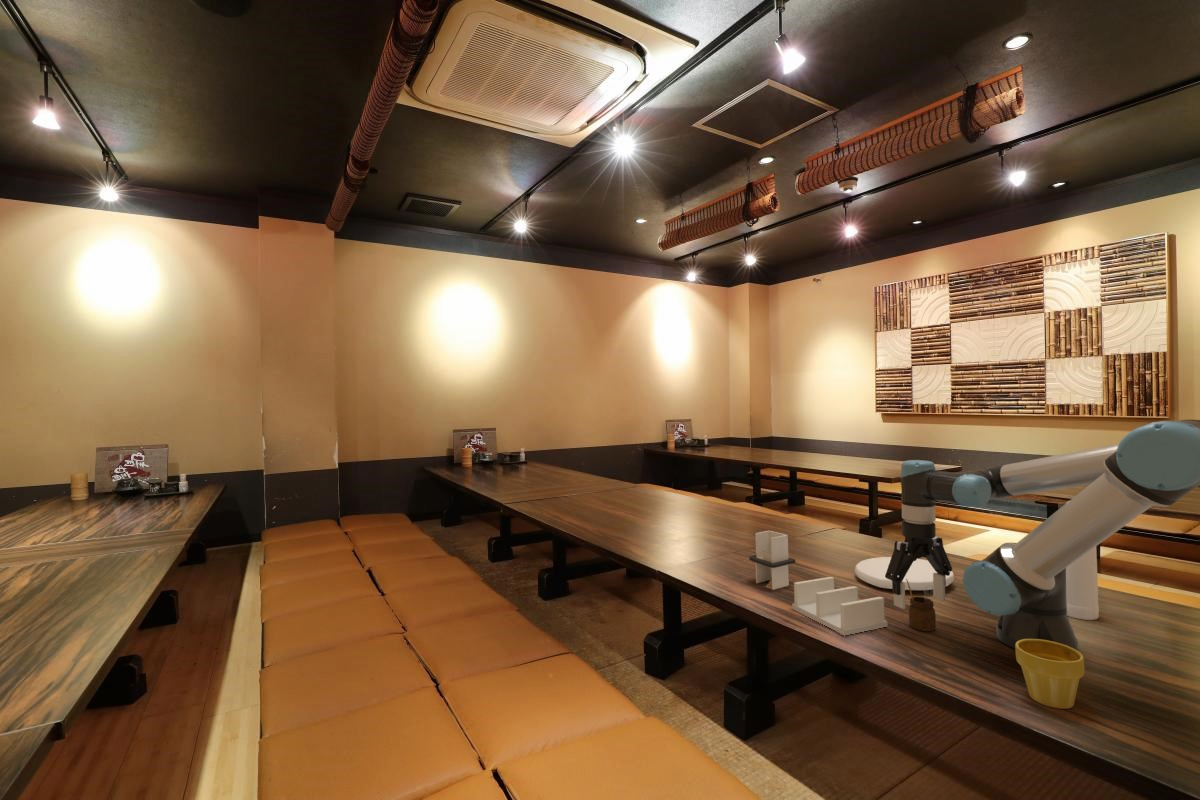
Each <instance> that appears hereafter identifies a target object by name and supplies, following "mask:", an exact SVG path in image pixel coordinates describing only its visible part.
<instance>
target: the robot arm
mask: <svg viewBox="0 0 1200 800" xmlns="http://www.w3.org/2000/svg"><path fill="white" fill-rule="evenodd" d="M900 470H901V471H900V477H899V479H900V485H901V487H900V488H901V518H902V519H903V520H902V521H901V534H902V535H903V536H904V540H903V542H902V541H898V540H896V541H894V546H893V552H892V555H891V556H890V557H891V560H890V563H889V566H888V569H887V572H886V575H885V578H887V579H889V580H892V589H891V590H892V594H893V606H895V607H898V608H900V609H903V610H905V609H906V590H905V583H904V582H902V581H903V579H904V577H905V575H906V574H907V572H908V570H909V568H910V566H911V565H912V563H913V561H916V559H922V558H926V559H925V560H928V561H929V563H930V564H931V566H932V567H933V568H934V570H935V571H936V572H937V573H933V588H934V589H932V590H933V592H932V598H933V599H936V600H939V601H940V602H941V601H942V602H945V601H946V586H945V585H946V581H945V580H946V575H947V576H949V575H950V572H951V571H952V572H953V567H952V564H951V561H950V559H949V557H948V554H947V553H946V550H945V548H944V542H943V538H942V537H939V536H936V534H937V533H936V523H935V521H936V520H937V519H936V517H937V516H936V502H943V503H946V504H947V503H949V504H953V505H959V506H963V507H967V508H968V507H974V508H983V507H985V506H986V504H988V503H989V501H990V500H993V499H1001V498H1007V497H1013V496H1020V495H1027V494H1033V493H1034V494H1035V493H1043V492H1048V491H1049V492H1051V491H1057V490H1064V489H1065V490H1066V489H1070V488H1071V489H1072V488H1079V487H1084V488H1083V490H1081V491H1079V493H1077V494H1076V495H1075V496H1073V497H1072V498H1071V499H1070V500H1068V501H1069V502H1067V501H1066V502H1067V503H1066V502H1065V504H1063V506H1061V507H1060V508H1059V509H1057V510H1056V511H1054V512H1053V513H1052V514H1051V515H1050V516H1049V517H1047V519H1045V520H1044V521H1042V522H1041V523H1040V524H1039V525H1038V526H1036V527H1035V528H1034V529H1033V530H1032V531H1030V532H1028V534H1026V535H1025V536H1024V537H1022V538H1021V539H1020V540H1019V541H1017V542H1004V543H1002V544H1001V545H999V546H998V547H997V548H996V549H995V550H993V552H991V553H990V554H989V555H987V556H986V557H985V558H983V559H982V560H975V561H974V562H972V563H971V564H969V565H968V566H967V567H966V568H965V569H964V571H963V576H962V581H963V587H964V590H965V592H966V594H967V596H968V598H969V599H970V601H972V603H973V604H975V606H977V608H979V609H980V610H982V611H984V612H986V613H988V614H990V615H993V616H998V617H999V618H998V621H997V624H996V627H995V628H996V629H995V631H996V638H997V640H999V641H1000V642H1001V643H1003V644H1005V645H1006V646H1008V647H1010V648H1013V649H1015V644H1016V642H1017V641H1019V640H1022V639H1041V640H1048V641H1053V642H1057V643H1061V644H1064V645H1067V646H1069V647H1071V648H1074V649H1075V650H1077V651H1079V643H1078V639H1077V637H1076V635H1075V632H1074V629H1073V626H1072V624H1071V622H1070V619H1069V618H1068V617H1069V616H1067V597H1066V568H1067V567H1068V566H1069V565H1071V564H1072V563H1073V562H1075V561H1076V560H1078V559H1079V558H1080V557H1082V556H1083V555H1085V554H1086V553H1087V552H1089V551H1090V550H1092V549H1093V548H1094V547H1096V548H1097V546H1099V545H1100V544H1101V543H1102V542H1104V541H1106V540H1107V539H1108V538H1110V537H1111V536H1112V535H1114V534H1116V533H1117V532H1118V531H1120V530H1121V529H1122V528H1124V527H1126V526H1127V524H1129V523H1131V522H1132V521H1134V520H1135V519H1136V518H1138V517H1139V516H1140V515H1142V514H1143V513H1145V512H1146V511H1147V510H1149V509H1151V507H1153V506H1154V507H1171V506H1172V505H1173V504H1175V503H1177V501H1179V500H1181V499H1182V498H1183V497H1185V496H1187V495H1188V494H1189V493H1191V492H1192V491H1193V490H1195V489H1196V488H1199V486H1200V419H1180V420H1160V421H1153V422H1150V423H1147V424H1146V423H1145V424H1144V425H1142V426H1138V427H1136V428H1134V429H1133V430H1131V431H1130V432H1129V433H1127V434H1126V435H1125V436H1124V437H1123V438H1122V439H1121V440H1120V442H1118V443H1116V444H1109V445H1103V446H1099V447H1093V448H1089V449H1083V450H1077V451H1073V452H1067V453H1066V452H1065V453H1061V454H1056V455H1051V456H1045V457H1040V458H1035V459H1029V460H1024V461H1020V462H1014V463H1008V464H1004V465H997V466H991V467H987V468H981V469H974V470H967V471H961V472H960V471H959V472H951V471H942V470H937V469H936V465H935V463H934V462H933V461H930V460H920V459H911V460H910V459H909V460H905V461H903V462H901V468H900ZM1085 486H1086V487H1085ZM948 571H950V572H948ZM891 574H892V575H891ZM898 576H899V577H898ZM934 593H935V594H934ZM933 594H934V595H933Z"/></svg>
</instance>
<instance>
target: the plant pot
mask: <svg viewBox="0 0 1200 800" xmlns="http://www.w3.org/2000/svg"><path fill="white" fill-rule="evenodd" d="M1014 649H1015V651H1014V652H1015V658H1016V659H1015V660H1016V662H1017V663H1018V664H1019V665H1020V666H1021V671H1022V673H1023V677H1024V680H1025V684H1026V688H1027V691H1028V695H1029V697H1030V698H1031V699H1032V700H1033V701H1035V702H1037V703H1039V704H1041V705H1043V706H1046V707H1050V708H1054V709H1062V710H1063V709H1064V710H1065V709H1067V710H1068V709H1071V708H1073V707H1074V705H1075V701H1076V696H1077V693H1078V687H1079V683H1080V679H1081V678H1083V677H1084V675H1085V658H1084V655H1083V654H1082V653H1081V651H1079V650H1078V651H1077V650H1075V649H1074V648H1071V647H1069V646H1067V645H1064V644H1061V643H1057V642H1053V641H1048V640H1041V639H1022V640H1019V641H1017V642H1016V644H1015V648H1014Z"/></svg>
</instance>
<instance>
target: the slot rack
mask: <svg viewBox="0 0 1200 800" xmlns="http://www.w3.org/2000/svg"><path fill="white" fill-rule="evenodd" d="M858 591H859V590H858V586H854V585H852V586H846V587H841V588H836V589H835V578H834V577H833V576H827V577H821V578H815V579H808V580H802V581H797V582H796V581H795V582H793V593H794V597H793V599H794V602H793V603H792V604H791V605H792V607H791V608H792V610H793V611H795V612H797V613H799V614H801V615H803V616H805V617H806V616H807V617H806V618H808V617H809V618H808V619H810V618H811V619H810V620H812V619H813V621H814V620H815V622H816V621H817V622H816V623H818V622H819V623H818V624H820V623H821V624H820V625H822V624H823V625H822V626H824V625H825V626H827V627H829V628H831V629H833V630H835V631H837V632H839V633H840V634H839V633H838V634H839V635H841V634H842V635H844V636H843V637H846V636H845V635H849V634H854V635H856V634H855V633H859V632H863V633H865V632H864V631H868V630H873V629H878V628H882V629H884V628H883V627H887V626H889V625H888V621H887V620H886V619H885V597H882V596H876V597H871V598H870V597H869V598H863V599H860V600H859V594H858V593H859V592H858ZM825 626H824V627H825ZM827 627H826V628H827ZM829 628H828V629H829ZM887 628H888V627H887ZM831 629H830V630H831ZM833 630H832V631H833ZM878 630H879V629H878ZM835 631H834V632H835ZM873 631H874V630H873ZM837 632H836V633H837ZM868 632H869V631H868ZM859 634H860V633H859ZM842 635H841V636H842ZM849 636H850V635H849Z"/></svg>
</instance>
